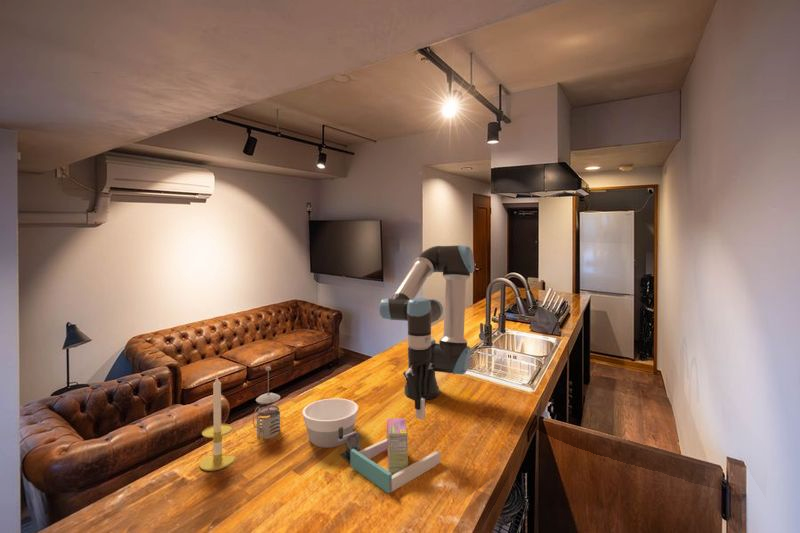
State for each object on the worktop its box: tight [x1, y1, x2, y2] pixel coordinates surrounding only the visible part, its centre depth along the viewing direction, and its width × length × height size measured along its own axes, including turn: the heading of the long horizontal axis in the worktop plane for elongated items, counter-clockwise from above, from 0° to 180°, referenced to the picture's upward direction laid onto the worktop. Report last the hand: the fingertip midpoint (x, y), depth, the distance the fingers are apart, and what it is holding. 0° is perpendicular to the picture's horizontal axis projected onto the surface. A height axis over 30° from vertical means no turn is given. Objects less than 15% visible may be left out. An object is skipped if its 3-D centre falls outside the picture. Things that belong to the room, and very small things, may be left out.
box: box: [386, 417, 409, 474], centre depth 110 cm, size 10×6×12 cm, turn 5°
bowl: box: [301, 397, 360, 448], centre depth 125 cm, size 19×19×11 cm
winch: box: [338, 427, 361, 464], centre depth 113 cm, size 6×8×11 cm
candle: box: [199, 376, 236, 472], centre depth 111 cm, size 10×10×27 cm
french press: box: [252, 365, 281, 440], centre depth 126 cm, size 10×12×25 cm
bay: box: [349, 438, 441, 495], centre depth 109 cm, size 17×21×5 cm
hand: (420, 417), depth 117 cm, fingers closed
